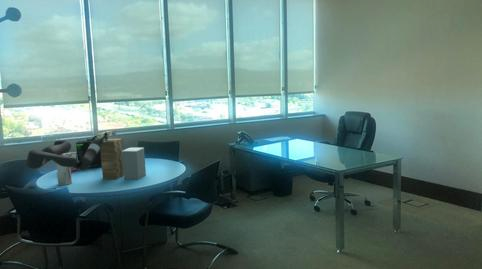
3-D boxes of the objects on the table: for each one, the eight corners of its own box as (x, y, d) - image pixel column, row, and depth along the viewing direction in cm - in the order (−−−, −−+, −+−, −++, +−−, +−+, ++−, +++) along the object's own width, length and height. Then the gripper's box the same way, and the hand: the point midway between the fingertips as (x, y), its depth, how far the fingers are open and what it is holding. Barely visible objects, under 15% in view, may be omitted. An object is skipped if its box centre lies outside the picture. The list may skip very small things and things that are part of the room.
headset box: (78, 169, 338) (75, 140, 334) (81, 166, 350) (78, 138, 346) (104, 167, 342) (102, 138, 339) (106, 164, 354) (104, 136, 350)
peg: (102, 138, 284) (102, 134, 284) (96, 138, 285) (95, 134, 285) (116, 134, 306) (116, 130, 305) (111, 134, 307) (110, 130, 306)
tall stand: (116, 179, 298) (113, 141, 294) (102, 179, 301) (99, 141, 296) (125, 174, 312) (122, 138, 308) (111, 174, 314) (108, 138, 310)
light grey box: (138, 179, 295) (136, 150, 292) (124, 179, 297) (121, 150, 294) (145, 174, 309) (143, 147, 306) (132, 174, 311) (129, 147, 308)
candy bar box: (76, 169, 336) (74, 151, 333) (78, 170, 332) (76, 152, 329) (63, 172, 329) (61, 153, 326) (64, 173, 325) (62, 154, 322)
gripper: (101, 143, 275) (111, 129, 288) (83, 143, 277) (94, 129, 291) (105, 151, 280) (114, 136, 293) (87, 151, 282) (97, 136, 295)
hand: (104, 133), depth 292 cm, fingers closed on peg, 3 cm apart
